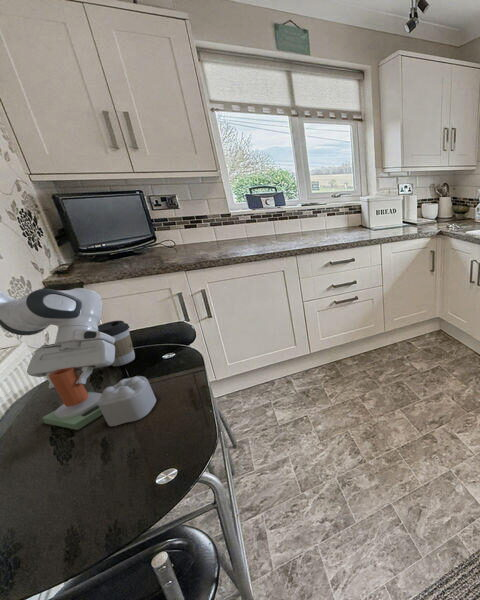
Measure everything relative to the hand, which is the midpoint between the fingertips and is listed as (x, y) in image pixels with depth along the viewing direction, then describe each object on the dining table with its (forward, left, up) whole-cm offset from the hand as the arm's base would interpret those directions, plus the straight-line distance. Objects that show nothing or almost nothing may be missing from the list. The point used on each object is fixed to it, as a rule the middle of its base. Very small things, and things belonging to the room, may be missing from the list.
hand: (67, 386), depth 92 cm
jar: (0, +1, -5) cm, 5 cm away
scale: (+1, +1, -9) cm, 9 cm away
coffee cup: (-20, +26, -10) cm, 34 cm away
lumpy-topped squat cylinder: (+15, +5, -10) cm, 19 cm away
